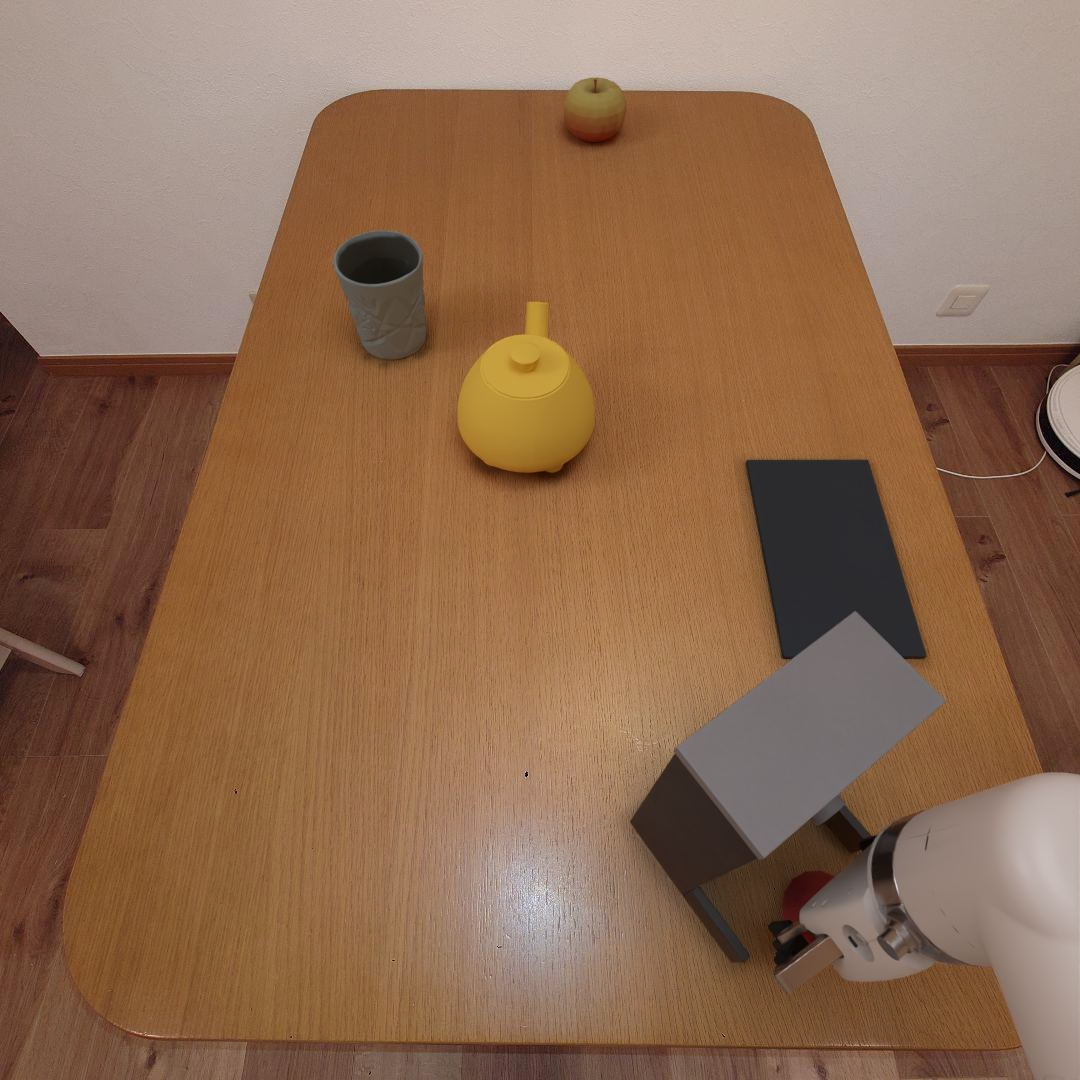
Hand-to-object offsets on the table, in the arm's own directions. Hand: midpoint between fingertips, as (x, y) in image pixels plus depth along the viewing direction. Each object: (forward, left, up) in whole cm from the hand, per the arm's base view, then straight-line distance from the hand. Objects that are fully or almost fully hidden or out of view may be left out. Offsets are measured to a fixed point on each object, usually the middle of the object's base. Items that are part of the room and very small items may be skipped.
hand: (830, 900), depth 53 cm
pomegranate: (-1, 0, -7) cm, 7 cm away
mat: (+22, -27, -7) cm, 36 cm away
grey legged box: (+7, 0, -7) cm, 10 cm away
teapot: (+55, -11, -7) cm, 57 cm away
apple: (+99, -54, -7) cm, 113 cm away
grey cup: (+77, -5, -7) cm, 78 cm away
